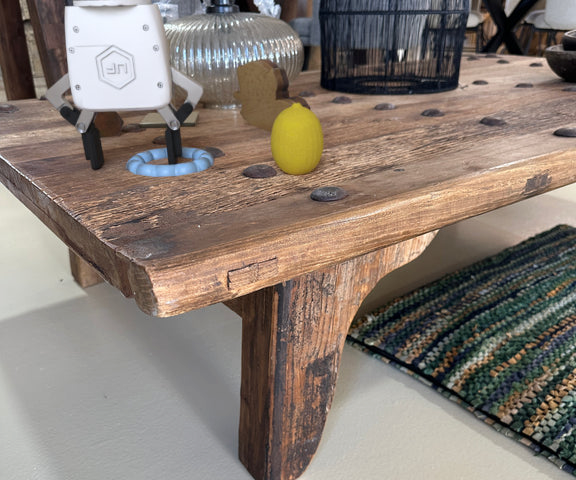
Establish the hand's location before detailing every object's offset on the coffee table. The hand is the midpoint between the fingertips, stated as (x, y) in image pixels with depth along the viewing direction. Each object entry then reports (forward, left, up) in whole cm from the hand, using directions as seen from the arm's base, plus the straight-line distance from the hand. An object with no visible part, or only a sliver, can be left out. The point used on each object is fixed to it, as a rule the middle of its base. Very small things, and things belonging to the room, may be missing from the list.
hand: (136, 164), depth 64 cm
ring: (+4, 0, 0) cm, 4 cm away
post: (+1, +26, -1) cm, 26 cm away
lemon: (+18, -5, -1) cm, 19 cm away
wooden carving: (+16, +17, -1) cm, 23 cm away
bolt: (-9, +22, -1) cm, 24 cm away
